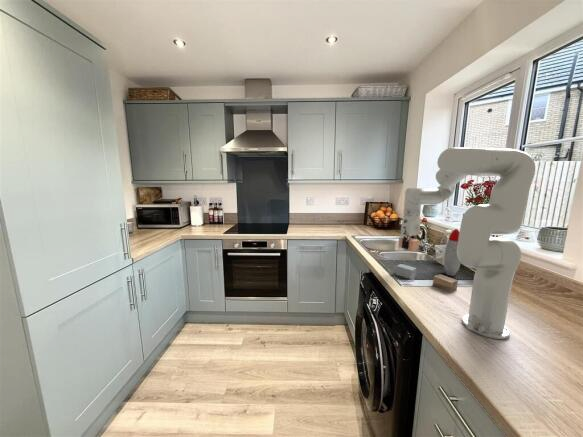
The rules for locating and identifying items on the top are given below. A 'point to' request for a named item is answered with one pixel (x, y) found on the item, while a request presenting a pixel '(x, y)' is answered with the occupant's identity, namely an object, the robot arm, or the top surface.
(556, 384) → the top surface
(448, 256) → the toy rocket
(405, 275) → the slate-grey brick
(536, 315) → the top surface
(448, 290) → the walnut brick
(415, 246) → the terracotta brick
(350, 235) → the top surface
